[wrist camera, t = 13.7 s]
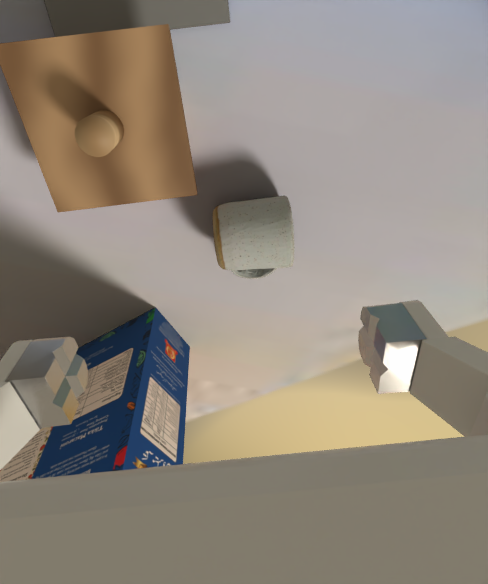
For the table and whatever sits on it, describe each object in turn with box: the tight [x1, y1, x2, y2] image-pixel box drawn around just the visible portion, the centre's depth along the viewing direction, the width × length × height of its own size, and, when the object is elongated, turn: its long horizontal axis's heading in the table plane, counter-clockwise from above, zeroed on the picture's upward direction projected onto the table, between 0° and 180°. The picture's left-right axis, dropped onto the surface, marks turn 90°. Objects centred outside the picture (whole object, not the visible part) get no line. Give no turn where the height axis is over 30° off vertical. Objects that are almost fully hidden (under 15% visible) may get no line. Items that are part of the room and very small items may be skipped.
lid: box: [0, 24, 197, 212], centre depth 30 cm, size 13×13×5 cm
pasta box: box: [0, 307, 190, 482], centre depth 41 cm, size 28×8×28 cm, turn 119°
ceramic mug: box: [212, 196, 294, 279], centre depth 41 cm, size 11×8×8 cm
